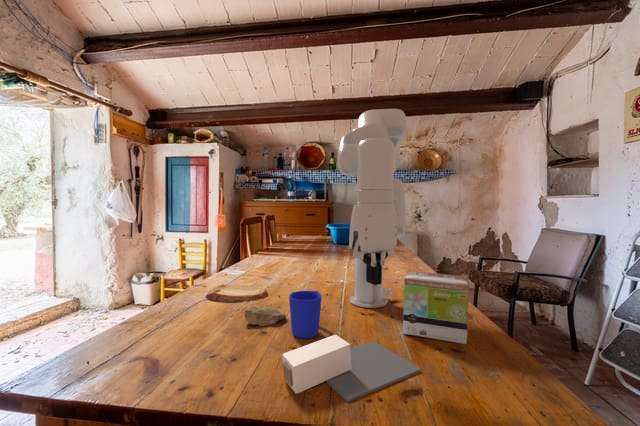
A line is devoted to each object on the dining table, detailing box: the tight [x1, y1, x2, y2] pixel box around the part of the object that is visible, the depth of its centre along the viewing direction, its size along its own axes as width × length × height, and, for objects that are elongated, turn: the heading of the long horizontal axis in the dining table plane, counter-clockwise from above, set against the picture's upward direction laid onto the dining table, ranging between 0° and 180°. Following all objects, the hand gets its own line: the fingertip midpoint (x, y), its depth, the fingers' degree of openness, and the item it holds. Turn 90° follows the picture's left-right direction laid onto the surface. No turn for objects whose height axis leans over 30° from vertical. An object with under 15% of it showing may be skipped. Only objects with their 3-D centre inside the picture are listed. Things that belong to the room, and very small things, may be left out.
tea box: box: [402, 270, 470, 345], centre depth 77 cm, size 15×10×15 cm, turn 70°
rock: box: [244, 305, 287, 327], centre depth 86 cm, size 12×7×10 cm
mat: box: [324, 340, 422, 403], centre depth 60 cm, size 18×14×1 cm
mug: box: [288, 290, 322, 339], centre depth 77 cm, size 8×12×10 cm
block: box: [281, 334, 352, 394], centre depth 57 cm, size 5×5×12 cm
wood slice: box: [205, 283, 269, 303], centre depth 107 cm, size 18×18×4 cm
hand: (373, 282), depth 65 cm, fingers closed
